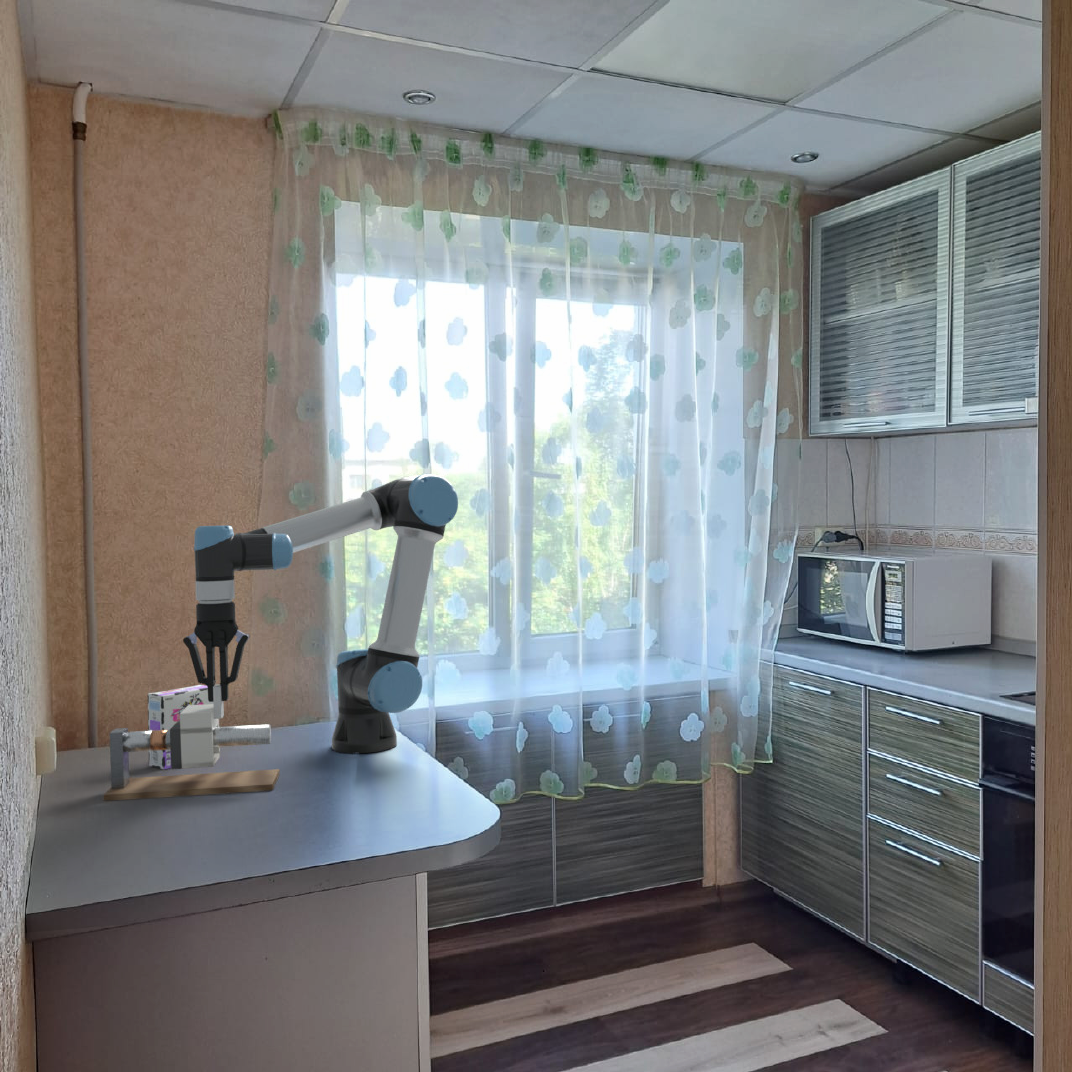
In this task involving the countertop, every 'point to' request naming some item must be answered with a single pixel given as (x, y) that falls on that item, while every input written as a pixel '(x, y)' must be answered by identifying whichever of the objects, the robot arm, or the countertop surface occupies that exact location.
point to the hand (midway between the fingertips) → (218, 717)
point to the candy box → (171, 715)
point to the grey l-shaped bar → (160, 740)
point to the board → (195, 784)
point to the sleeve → (198, 736)
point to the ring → (175, 746)
